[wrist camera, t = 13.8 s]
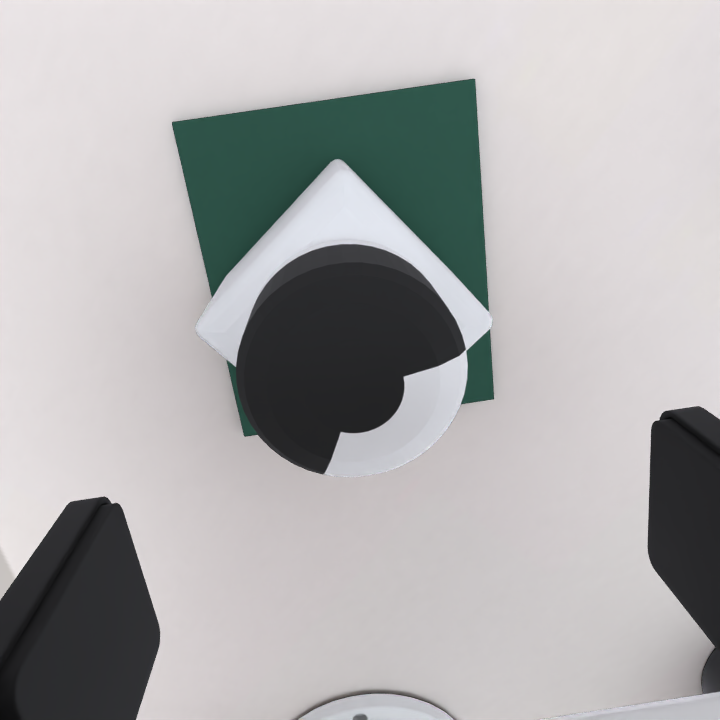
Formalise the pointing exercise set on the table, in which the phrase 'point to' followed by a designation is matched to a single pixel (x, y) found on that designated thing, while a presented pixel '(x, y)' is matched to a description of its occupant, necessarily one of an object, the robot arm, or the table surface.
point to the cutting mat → (367, 159)
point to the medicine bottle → (345, 333)
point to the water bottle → (712, 674)
